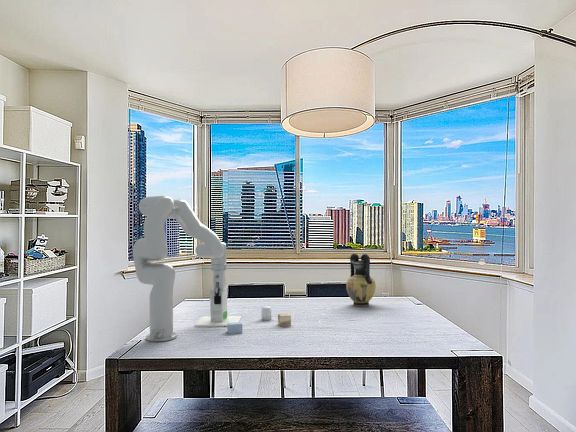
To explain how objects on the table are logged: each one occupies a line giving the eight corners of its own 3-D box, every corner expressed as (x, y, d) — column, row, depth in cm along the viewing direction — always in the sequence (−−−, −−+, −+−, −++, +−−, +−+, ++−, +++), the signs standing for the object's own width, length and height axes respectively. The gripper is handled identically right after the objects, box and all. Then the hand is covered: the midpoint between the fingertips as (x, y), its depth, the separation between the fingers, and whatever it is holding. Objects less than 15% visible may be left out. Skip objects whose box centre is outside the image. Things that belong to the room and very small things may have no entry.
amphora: (340, 304, 260) (339, 253, 261) (358, 301, 271) (357, 252, 272) (364, 308, 247) (363, 255, 248) (382, 305, 258) (381, 253, 259)
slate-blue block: (242, 332, 195) (242, 323, 195) (228, 334, 194) (228, 324, 194) (240, 330, 199) (240, 321, 199) (227, 331, 197) (227, 322, 198)
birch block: (290, 325, 208) (290, 315, 208) (280, 326, 207) (280, 315, 207) (288, 323, 213) (287, 313, 213) (277, 324, 211) (277, 313, 211)
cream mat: (237, 326, 207) (237, 324, 207) (194, 326, 207) (194, 325, 207) (241, 317, 227) (241, 315, 227) (202, 317, 227) (202, 316, 227)
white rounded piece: (271, 320, 220) (271, 308, 220) (261, 320, 220) (261, 308, 220) (271, 318, 225) (271, 306, 225) (261, 318, 225) (261, 306, 225)
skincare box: (222, 322, 213) (222, 289, 213) (209, 322, 214) (209, 289, 214) (227, 318, 221) (227, 287, 221) (215, 318, 222) (214, 287, 222)
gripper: (224, 269, 209) (224, 305, 209) (228, 265, 226) (228, 299, 226) (208, 269, 209) (208, 305, 209) (213, 265, 226) (214, 299, 226)
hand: (219, 302), depth 217 cm, fingers open, 9 cm apart
